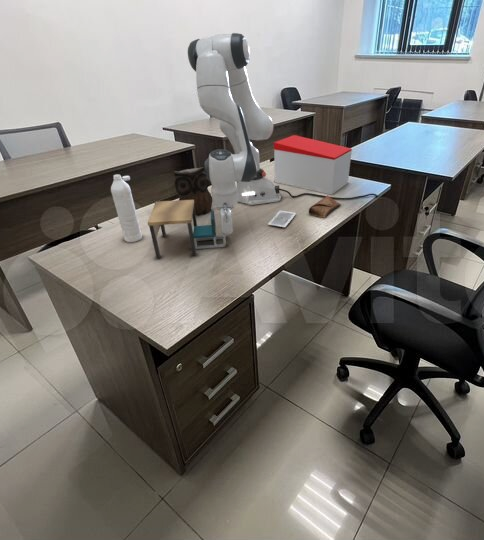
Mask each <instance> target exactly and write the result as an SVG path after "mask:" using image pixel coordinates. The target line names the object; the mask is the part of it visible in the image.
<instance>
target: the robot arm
mask: <svg viewBox="0 0 484 540" xmlns="http://www.w3.org/2000/svg"><path fill="white" fill-rule="evenodd" d="M250 50H251V49H250V45H249V42H248V40H247V38H246V36H244V34H242V33H237V32H232V33H222V34H221V33H220V34H214V35H211V36H206V37H204V38H201V39H200V38H197V39H194V40H192V41H191V42H190V43H189V45H188V47H187V59H188V63H189V65H190V67H191V69H192V70H193V71H194V72H195V84H196V92H197V98H198V103H199V106H200V108H201V109H202V111H203V112H204V113H205V114H207V116H210V117H212V118H213V119H217V120H219V121H218V123H219V124H218V125H219V128H220V131H221V133H223V135H224V136H226V138H227V139H228V141H229V142H230V144H231V147H232V149H233V153H232V152H231V151H230V150H227V149H222V148H221V149H220V148H219V149H215V150H212V151H210V153H209V155H208V158H207V159H205V161H204V168H205V174H206V178H207V179H208V180H209V183H211V188H210V193H211V196H212V206H214V207H216V210H218V211H220V223H221V224H220V225H221V233H223V234H226V236H230V235H231V234H233V231H234V229H233V219H232V210H234V209H235V206H236V205H237V204H238V203H242V204H246V205H247V206H255V205H262V204H268V203H269V204H270V203H278V202H280V201H281V199H282V196H281V192H283V193H284V192H285V193H287V194H288V196H290V197H291V198H300V197H302V196H314V197H318V198H319V197H320V198H325V197H326V196H327V195H323V194H316V193H311V192H303V193H299V194H298V195H292V193H291V192H290V191H289V190H286V189H283V188H280V185H276V184H275V182H273V181H272V180H270V179H269V178H268V177H266V176H267V173H266V171H265V170H264V169H263V168H261V167H260V166H261V163H260V162H261V161H260V160H261V159H260V152H259V150H258V149H257V148H256V147H255V146H254V145H253V143H252V142H251V140H253V141H265V140H268V139H269V138H271V137H272V134H273V132H274V122H273V120H272V118H271V116H270V115H268V114H267V113H266V112H264V110H263V109H262V108H261V107H260V106H259V104H258V102H257V101H256V100H255V97H254V96H253V93H252V88H251V85H250V82H249V77H248V73H247V69H246V67H247V65H248V64H249V62H250V59H251V58H250V55H251V51H250ZM370 196H374V197H376V198H379V195H377V194H376V193H368V194H364V195H358V196H357V195H356V196H352V197H351V196H350V197H335V196H329V197H330V198H332V199H333V200H355V199H361V198H365V197H370ZM223 234H222V235H223Z"/></svg>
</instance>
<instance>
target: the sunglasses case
mask: <svg viewBox="0 0 484 540" xmlns="http://www.w3.org/2000/svg"><path fill="white" fill-rule="evenodd" d="M325 196H326V197H322V199H320V200H319V201H317V202H316V203H314V204H313V205H312V206H310V207H309V209H308V214H309V215H310V216H313V217H317V218H325V219H326V218H327V216H328V215H329V214H331V213H332V212H333V211H335V210H336V209H338V208H339V207H340V206H341V205H342V203H339V202H338V201H337V200H336V199H332V198H330V197H331V196H329V194H327V195H325Z"/></svg>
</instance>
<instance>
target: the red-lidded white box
mask: <svg viewBox="0 0 484 540" xmlns="http://www.w3.org/2000/svg"><path fill="white" fill-rule="evenodd" d="M273 151H274V152H273V158H274V162H273V164H274V167H273V169H274V170H273V171H274V174H273V175H274V179H273V180H274V182H273V183H277V184H282V185H287V186H291V187H296V188H300V189H304V190H310V191H313V192H318V193H323V194H327V195H333V194H334V193H336V192H338V191H339V190H341V189H342V188H343V187H345V186H346V185H347V184H348V183H349V175H350V168H351V161H352V160H351V158H352V151H353V149H352V148H350V147H346V146H342V145H338V144H334V143H329V142H326V141H321V140H317V139H314V138H309V137H304V136H300V135H296V134H292V135H290V136H288V137H285V138H282V139H280V140H277V141H274V142H273ZM347 181H348V182H347Z"/></svg>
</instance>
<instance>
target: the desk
mask: <svg viewBox="0 0 484 540" xmlns="http://www.w3.org/2000/svg"><path fill="white" fill-rule="evenodd" d="M179 224H180V225H182V224H183V225H184V224H187V225H186V226H187V231H188V236H189V242H190V248H191V255H192V257H196V256H197V252H196V250H197V249H195V243H194V237H193V231H194V229H193V227H194V226H198V223H197V215H196V214H195V207H194V200H179V199H177V200H162V201H155V202H154V204H153V207H152V210H151V212H150V215H149V217H148V220H147V226H148V227H149V232H150V236H151V240H152V245H153V249H154V253H155V257H156V259H157V260H158V259H161V257H162V256H161V253H160V248H159V244H158V235H159V231H160V230H161V234H162V235H161V236H162V238H166V237H167V232H166V227H165V226H166V225H179Z"/></svg>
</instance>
